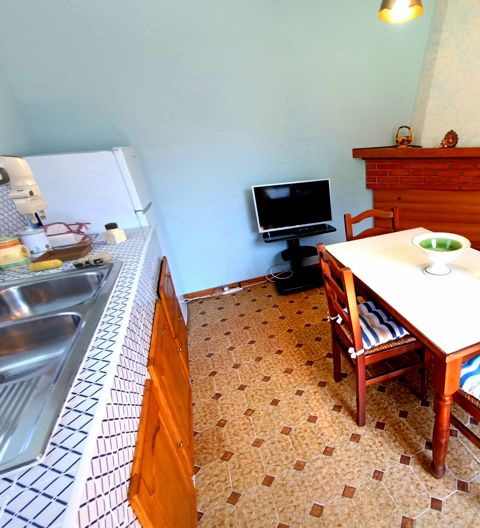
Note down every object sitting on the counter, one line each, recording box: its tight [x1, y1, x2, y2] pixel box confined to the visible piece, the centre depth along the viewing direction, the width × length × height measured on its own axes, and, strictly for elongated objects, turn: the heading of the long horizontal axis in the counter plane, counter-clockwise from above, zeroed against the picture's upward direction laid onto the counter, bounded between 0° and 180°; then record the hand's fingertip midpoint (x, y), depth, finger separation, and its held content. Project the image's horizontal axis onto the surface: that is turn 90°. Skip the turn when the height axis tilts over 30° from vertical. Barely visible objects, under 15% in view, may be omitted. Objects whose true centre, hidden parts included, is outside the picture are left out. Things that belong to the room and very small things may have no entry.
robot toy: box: [70, 250, 112, 269], centre depth 146 cm, size 12×4×15 cm
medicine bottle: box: [102, 222, 127, 245], centre depth 180 cm, size 7×7×12 cm
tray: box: [31, 244, 93, 264], centre depth 160 cm, size 19×19×3 cm
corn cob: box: [27, 260, 63, 272], centre depth 143 cm, size 12×4×4 cm, turn 117°
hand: (40, 221), depth 144 cm, fingers open, 8 cm apart
